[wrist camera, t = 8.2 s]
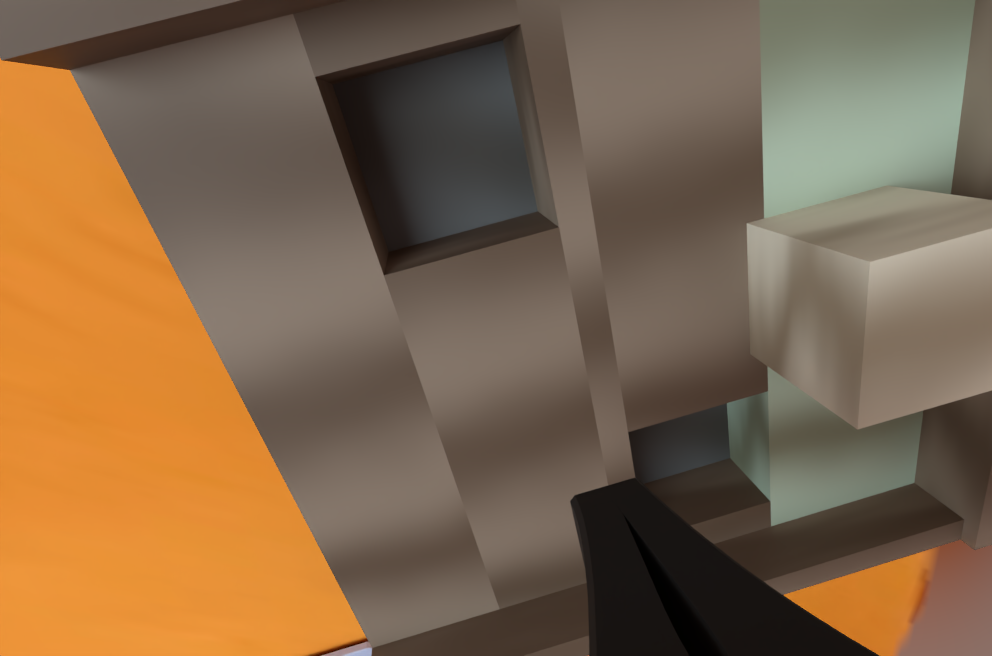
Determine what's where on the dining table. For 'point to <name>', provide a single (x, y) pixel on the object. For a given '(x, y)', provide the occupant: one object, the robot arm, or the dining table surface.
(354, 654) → the robot arm
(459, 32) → the trap box
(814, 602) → the dining table surface
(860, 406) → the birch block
